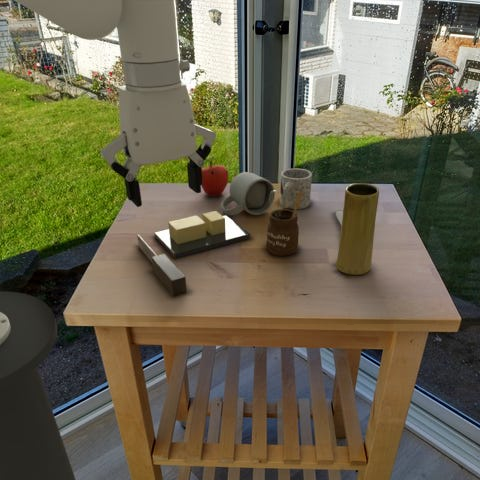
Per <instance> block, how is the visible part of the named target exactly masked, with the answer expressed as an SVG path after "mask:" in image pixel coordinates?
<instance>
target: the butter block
mask: <svg viewBox="0 0 480 480" xmlns="http://www.w3.org/2000/svg"><path fill="white" fill-rule="evenodd" d="M168 229H169V234H170V237H171V238H172V239H173V240H174V241H175V242H176V243H177V244H181V243H185V242H189V241H193V240H197V239H201V238H205V237H206V223H205V222H204V221H203V218H200V216H198V215H192V216H188V217H183V218H179V219H176V220H171V221H170V220H169V221H168Z"/></svg>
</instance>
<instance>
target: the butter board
mask: <svg viewBox="0 0 480 480" xmlns="http://www.w3.org/2000/svg"><path fill="white" fill-rule="evenodd" d="M222 216H223V217H224V218H225V231H226V232H224V233H220V234H216V235H211V234H210V233H209V232H207V231H206V237H205V238H201V239H197V240H193V241H189V242H185V243H181V244H177V243H176V242H175V241H174V240H173V239H172V238H171V237H170V234H169V228H168V229H164V230H160V231H156V232H154V238H155V239H156V240H157V241H158V242H159V243H160V245H162V246H163V248H165V249H166V251H167V252H168V253H169V254H170V255H171V256H172V257H173V258H174V259H178V258H182V257H185V256H188V255H189V256H190V255H194V254H197V253H200V252H204V251H208V250H211V249H215V248H219V247H223V246H226V245H230V244H234V243H238V242H241V241H242V242H243V241H245V240H249V239H250V238H251V233H250V232H248V231H247V230H246V229H244V228H243V226H241V225H239V224H238V223H237V222H236V221H234V220H233V219H231V218H230V217H229V216H228V215H226V214H224V215H222Z"/></svg>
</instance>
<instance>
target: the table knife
mask: <svg viewBox="0 0 480 480" xmlns="http://www.w3.org/2000/svg"><path fill="white" fill-rule="evenodd" d="M136 236H137V237H136V238H137V244H138V248H139V249H140V250H141V251H142V253H143V254H144V255H145V256H146V257H147V258H148V259H149V261H150V262H151V265H152V270H153V271H152V272H153V273H154V275H155V276H156V277H157V279H159V281H160V282H161V283H162V284H163V285H164V287H165V288H166V289H167V290H168V291H169V293H170V294H171V295H172V297H176V296H179V295H182V294H185V293H187V281H186V276H185V275H184V274H183V273H182V272H181V271H180V269H179V268H178V267H177V266H176V265H175V264H174V263H173V262H172V261H171V259H169V257H168V256H167V255H166V254H165V253H162V254H157V253H156V252H155V250H154V249H153V248H151V247H150V245H149V244H148V243H147V242H146V240H144V239H143V237H142V236H141V235H140V234H138V233H137V234H136Z"/></svg>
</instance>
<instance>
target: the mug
mask: <svg viewBox="0 0 480 480" xmlns="http://www.w3.org/2000/svg"><path fill="white" fill-rule="evenodd" d="M280 173H281V174H280V192H281V193H280V192H279V193H280V194H279V197H280V199H279V205H280V206H281V207H282V206H283V209H290V210H294V208H293V207H294V204H295V201H296V198H297V196H298V193H300V192H302V191H303V194H302V197H301V201H300V204H299V206H298V208H297V209H296V210H300V209H305V208H307V207H309V206H310V204H311V192H312V182H313V181H312V178H313V173H312V172H311V171H310V170H308V169H305V168H298V167H297V168H287V169H284V170H282V171H281V172H280ZM281 194H282V195H281ZM280 195H281V196H280ZM281 199H283V201H281Z"/></svg>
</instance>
